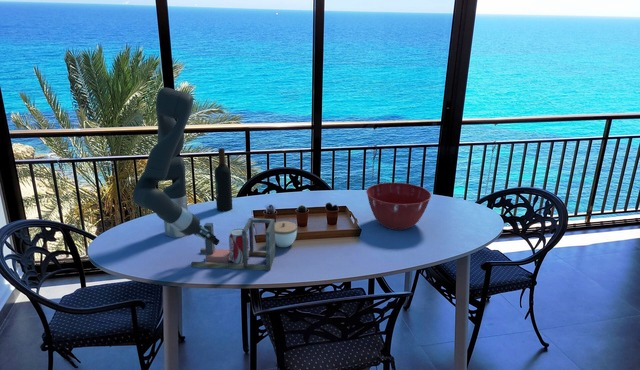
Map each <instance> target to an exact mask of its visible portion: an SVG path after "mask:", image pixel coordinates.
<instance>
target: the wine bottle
mask: <svg viewBox="0 0 640 370" xmlns="http://www.w3.org/2000/svg"><path fill="white" fill-rule="evenodd" d="M217 151H218V152H217V153H218V163H219V164H218V166H217V167H215V169H214V184H215V185H214V186H215V187H214V188H215V200H216V211H218V212H229V211H232V210H233V193H232V189H233V188H232V173H231V172H232V171H231V169H230V167H229V166H227V165H226V155H225V148H224V147H221V148H218V150H217Z"/></svg>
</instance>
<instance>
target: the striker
mask: <svg viewBox="0 0 640 370" xmlns="http://www.w3.org/2000/svg"><path fill="white" fill-rule="evenodd" d="M203 227H205V229H206V230H208V231H210V233H212V234H213V235H214V236H215V233H214V231H215V230H214V223H213V222H206V223H204V225H203ZM204 244H205V246H204V247H205V249H206V253H205V254H206V255H205V262H213V263H229V261H230V249H228V250H226V249H227V248H226V249H225V248H222V249H221V248H215V246H216V245H215V244H213V243H211V242H209V241H208V240H204Z"/></svg>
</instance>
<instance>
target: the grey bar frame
mask: <svg viewBox="0 0 640 370" xmlns="http://www.w3.org/2000/svg"><path fill="white" fill-rule="evenodd" d="M275 221H276V220H275V218H256V217H254V218H253V217H252V218H251V217H250V218H248V220H247V222H246V224H245V226H244V227H243V228H242V229H243V231H242V237H243V261H244V263H243V264H236V263H233V262H228V263H213V262H206V261H191V262H190V267H192V268H207V269H208V268H211V269H212V268H213V269H228V270H229V269H233V270H256V271H271V269H272V265H273V264H274V263H273V262H274V261H275V260H274V259H275V257H276V244H275V223H276V222H275ZM255 223H256V224H268V227H267V228H266V232H265V239H266V240H265V246H266V247H265V249H266V250H254V248H255V247H254V226H253V225H254V224H255ZM246 233H247V234H248V242H249V256H253V257H254V256H260V257H265V258H266V264H257V263H248V261H249V259H247V234H246ZM226 250H229V248H226ZM199 251H200V252H199V253H200V254H206V248H204V247H201V248H200V250H199Z"/></svg>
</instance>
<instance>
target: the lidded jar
mask: <svg viewBox="0 0 640 370" xmlns="http://www.w3.org/2000/svg"><path fill="white" fill-rule="evenodd" d="M297 229H298V227H297V224H296V223H294V222H291V221H277V222H275V246H277V247H278V248H279V247H280V248H287V247H291V245H292V244H293V243H294V242H295V240H296V239H297V232H298V230H297Z"/></svg>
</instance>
